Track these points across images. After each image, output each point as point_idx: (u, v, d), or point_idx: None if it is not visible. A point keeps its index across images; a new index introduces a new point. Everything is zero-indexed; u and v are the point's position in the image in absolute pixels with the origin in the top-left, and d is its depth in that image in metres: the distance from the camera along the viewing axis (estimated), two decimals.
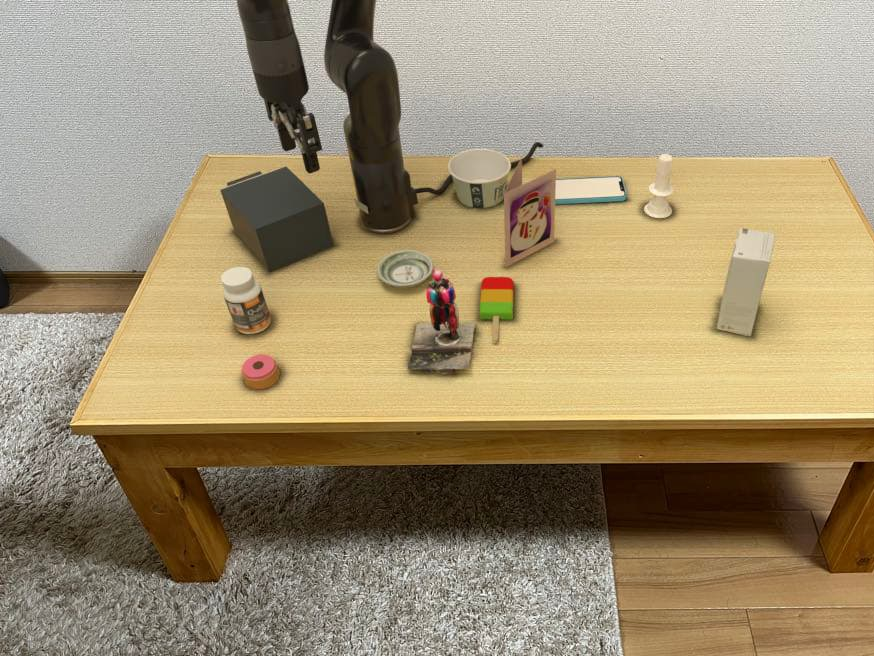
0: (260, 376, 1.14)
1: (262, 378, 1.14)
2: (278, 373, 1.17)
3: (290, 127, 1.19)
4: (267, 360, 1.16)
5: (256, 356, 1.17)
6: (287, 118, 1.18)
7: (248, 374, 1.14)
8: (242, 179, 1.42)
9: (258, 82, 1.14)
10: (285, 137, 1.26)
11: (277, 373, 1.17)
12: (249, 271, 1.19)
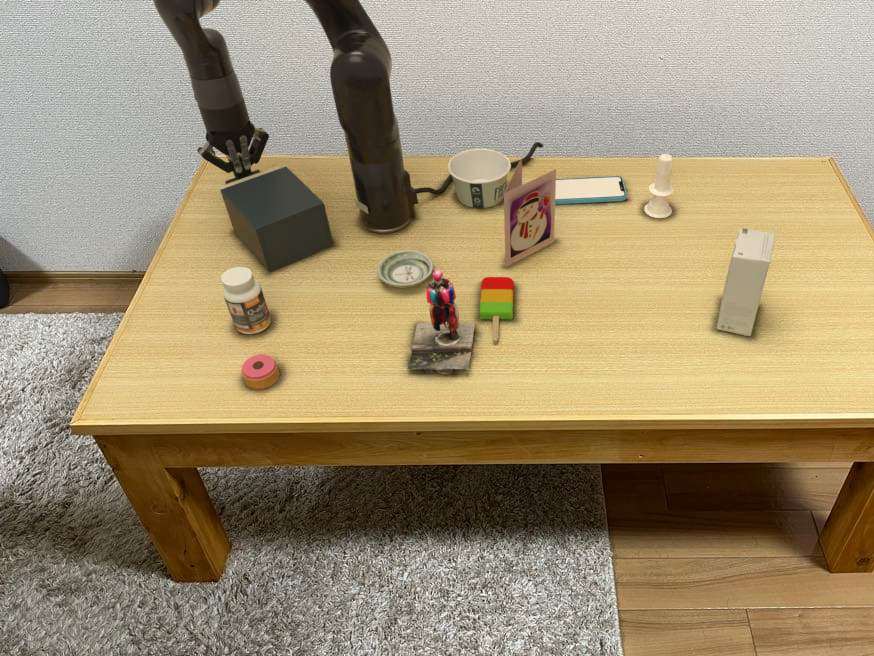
0: (260, 376, 1.14)
1: (262, 378, 1.14)
2: (278, 373, 1.17)
3: None
4: (267, 360, 1.16)
5: (256, 356, 1.17)
6: None
7: (248, 374, 1.14)
8: None
9: None
10: None
11: (277, 373, 1.17)
12: (249, 271, 1.19)
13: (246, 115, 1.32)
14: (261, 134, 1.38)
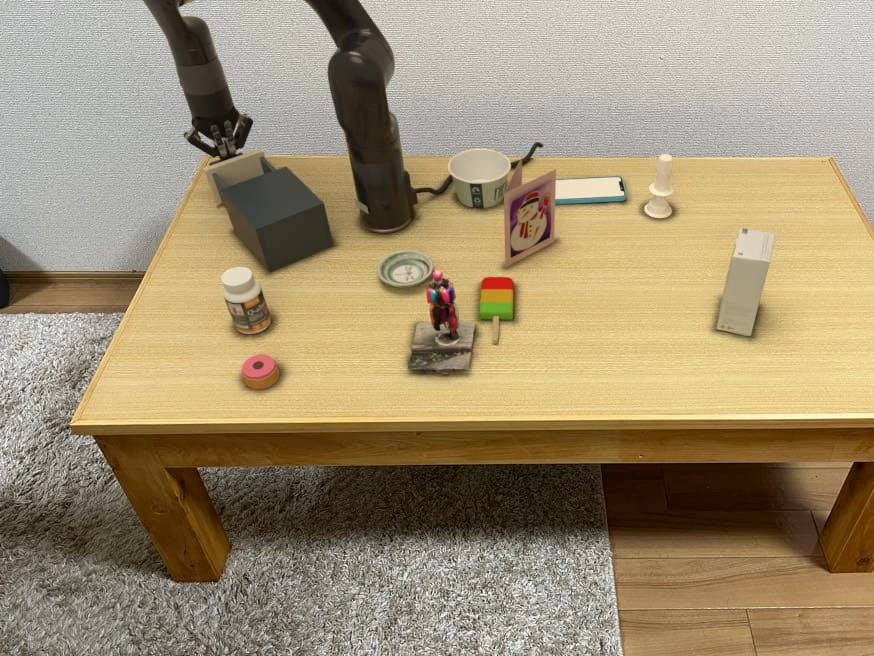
0: (260, 376, 1.14)
1: (262, 378, 1.14)
2: (278, 373, 1.17)
3: None
4: (267, 360, 1.16)
5: (256, 356, 1.17)
6: None
7: (248, 374, 1.14)
8: None
9: None
10: None
11: (277, 373, 1.17)
12: (249, 271, 1.19)
13: (230, 101, 1.37)
14: (245, 120, 1.42)
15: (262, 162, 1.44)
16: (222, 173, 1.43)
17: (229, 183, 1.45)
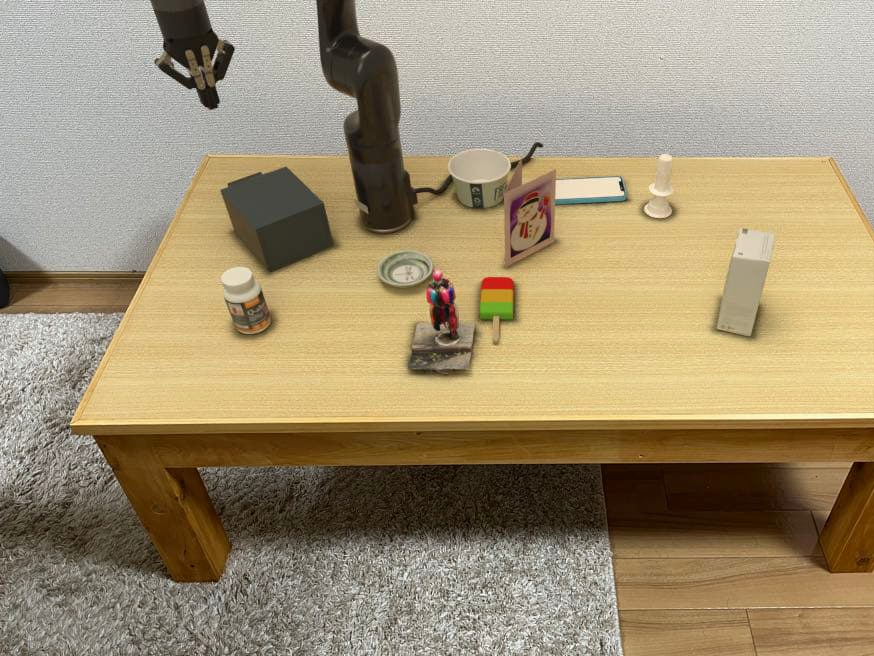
0: None
1: None
2: None
3: None
4: None
5: None
6: None
7: None
8: (242, 179, 1.42)
9: (193, 19, 1.17)
10: None
11: None
12: (249, 271, 1.19)
13: None
14: None
15: None
16: None
17: None
